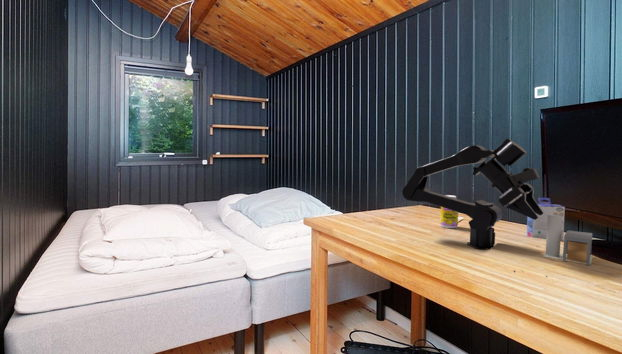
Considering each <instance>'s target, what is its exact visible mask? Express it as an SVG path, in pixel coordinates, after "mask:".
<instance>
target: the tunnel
mask: <svg viewBox="0 0 622 354" xmlns="http://www.w3.org/2000/svg"><path fill="white" fill-rule="evenodd" d="M593 235H594V234H593V233H592V232H586V231H585V232H584V231H583V232H582V231H576V230H569V229H568V230H567V231H566V232H565V233H564V238H563V249H562V251H563V252H562V254H563V260H562V262H565V263H566V261H567V260H566V255H567V251H568V241H576V242H583V243H588V244H587V259H586V264H585V266H587V267H590V264H589V262H590V255H592V246H593V245H592V244H593Z"/></svg>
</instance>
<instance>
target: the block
mask: <svg viewBox="0 0 622 354" xmlns="http://www.w3.org/2000/svg"><path fill="white" fill-rule="evenodd" d="M587 244H588V243H583V242H576V241H568V251H567V254H566V255H567V259H568V260H574V261H579V262H585V263H586V259H587Z"/></svg>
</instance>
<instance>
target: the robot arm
mask: <svg viewBox="0 0 622 354" xmlns="http://www.w3.org/2000/svg"><path fill="white" fill-rule="evenodd" d="M527 154H528V153H527V151H526V149H524V148H523V147H522V146H521V145H520V144H518V143H516V142H514V141H513V140H512V139H511V138H506V139H505V140H504V141H502V143H501V144H500V145H498V147H496V148H495V150H494V149H487V148H485V147H484V146H481V145H474V144H473V145H472V144H471V145H469V146H466V147H465V148H463V149H461V150H460V151H458V152H457V153H455V154H453V155H452V156H448V157H446V158H445V157H444V158H442V159H440V160H437V161H434V162H430V163H427V164H425V165H423V166H422V165H421V166H420V165H419V166H418V167H417V168H416V169H415V170H414V173H413V175H412V176H411V177H410V178H409V180H408V182H407V183H406V185H404V187H403V188H402V191H401V192H402V196H403V198H404V199H405V200H406V201H410V202H418V203H419V202H421V203H429V204H431V205H435V206H437V207H440V208H441V207H444V208H447V209H450V210H453V211H456V212H458V214H459V213H460V214H464V215H465V216H468V217H469V218H471V220H469V221H468V225H469V242H466V245H469V246H471V247H473V248H476V249H477V250H491V249H492V248H494V247H495V244H496V232H495V228H494V226H495V225H496V223H498V222H500V220H502V217H503V211H502V210H501V208H500V207H499V206H497V205H496V204H495V202H488V201H486V200H483V199H479V200H476V201H475V202H469V201H465V200H462V199H458V198H457V197H456V198H452V197H449V196H445V195H446V194H441V193H438V192H434V191H432V190H431V189H429V188H428V187H427V184H428V180H429V177H430V176H431V175H434V174H438V173H440V172H443V171H447V170H450V169H453V168H456V167H461V166H467V165H474V164H475V165H476V164H479V165H478V166H473V167H472V169H473V171H472V175H473V176H478V175H480V174H481V175H482V176H483V177H484V178H485V179H486V180H487V181H488V182H489V183H490V184H491V187H492V188H493V189H496V190H497V191H498V192H499V193H500V194H501V195H500V196H498V203H499V204H500V205H501V206H502V208H503V207H504V208H506V209H509V210H511V211H514V212H516V213H519V214H521V215H523V216H525V217H526V218H527V217H530V218H532V219H534V220H536V219H537V218H538V216H537V215H536V214H538V215H542V214H543V211H542V210H541V208H540V207H539V205H538V204H539V203H538V202H537V201H536V200H535V197H534V195H535V194H534V193H535V190H534V187H533V186H532V185H531V184H530V183H528V182H530V181H534V180H537V179H540V178H541V177H540V175H539V173H538V171H537V169H536V168H531V167H530V166H527V167H526V168H523V169H522V171H521V172H519V173H516V174H514V172H508V171H507V169H505V168H504V167H507V166H509V167H512V166H513V165H514V164H515V163H517V162H518V161H519V160H521V159H522V158H523V157H524V156H525V155H527ZM487 159H490V160H489V161H486V160H487ZM503 166H504V167H503Z"/></svg>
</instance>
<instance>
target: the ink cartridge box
mask: <svg viewBox="0 0 622 354" xmlns="http://www.w3.org/2000/svg"><path fill="white" fill-rule="evenodd" d="M543 200H544V201H543ZM545 200H546V201H545ZM537 204H538V205H539V207H540V208H541V210H542V211H543V214H542V215H538V214H536V215H537V216H538V218H537V219H536V220H534V219H532V218H530V217H527V216H526V219H527V221H526V237H528V238H535V239H542V240H546V238H547V219H548V215H559V216H562V224H561V241H560V242H564V236H565V231H564V230H565V215H566V214H565V212H566V206H564V205H561V204H553V203H552V202H551V199H550V197H538V203H537Z"/></svg>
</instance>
